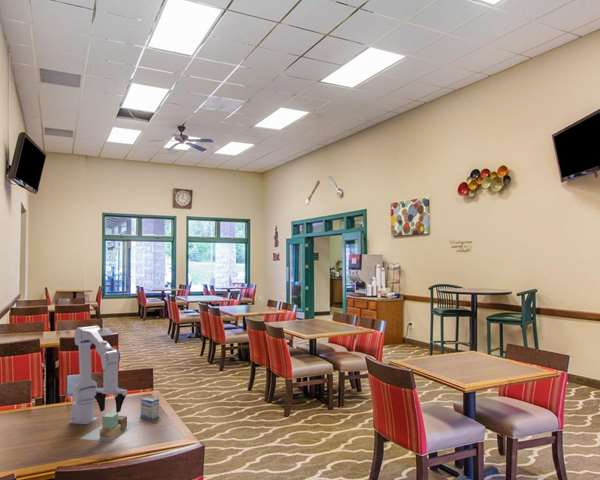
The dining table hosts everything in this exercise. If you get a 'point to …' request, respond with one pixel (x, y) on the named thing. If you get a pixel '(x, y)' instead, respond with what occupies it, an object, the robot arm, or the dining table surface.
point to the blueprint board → (96, 436)
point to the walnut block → (122, 422)
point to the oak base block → (110, 432)
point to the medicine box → (149, 408)
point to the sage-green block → (110, 420)
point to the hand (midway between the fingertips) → (110, 411)
